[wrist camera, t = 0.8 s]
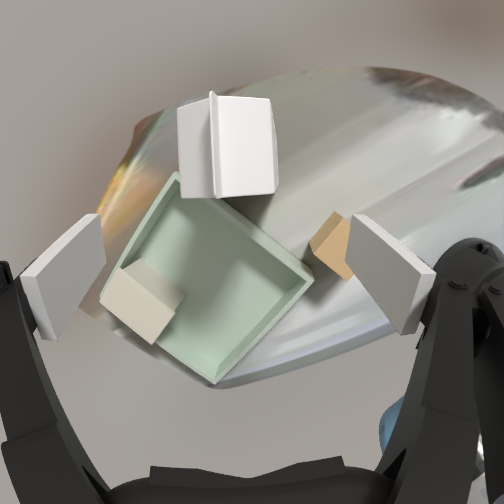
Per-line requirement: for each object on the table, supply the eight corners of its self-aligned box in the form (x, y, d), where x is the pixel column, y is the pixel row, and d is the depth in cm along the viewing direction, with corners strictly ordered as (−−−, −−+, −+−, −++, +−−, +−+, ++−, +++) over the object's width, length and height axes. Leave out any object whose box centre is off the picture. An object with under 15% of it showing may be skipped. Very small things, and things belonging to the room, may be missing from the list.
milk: (230, 187, 37) (159, 205, 16) (227, 138, 36) (154, 97, 14) (280, 184, 36) (273, 199, 15) (277, 135, 35) (267, 83, 14)
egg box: (189, 293, 40) (173, 315, 34) (169, 321, 42) (151, 344, 35) (140, 254, 40) (116, 269, 33) (123, 283, 41) (99, 301, 35)
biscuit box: (363, 236, 37) (376, 247, 31) (338, 266, 38) (347, 281, 32) (334, 211, 37) (343, 217, 31) (308, 241, 38) (313, 253, 32)
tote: (310, 269, 39) (314, 280, 34) (220, 366, 44) (214, 384, 39) (186, 171, 37) (174, 171, 33) (114, 285, 42) (99, 296, 38)
